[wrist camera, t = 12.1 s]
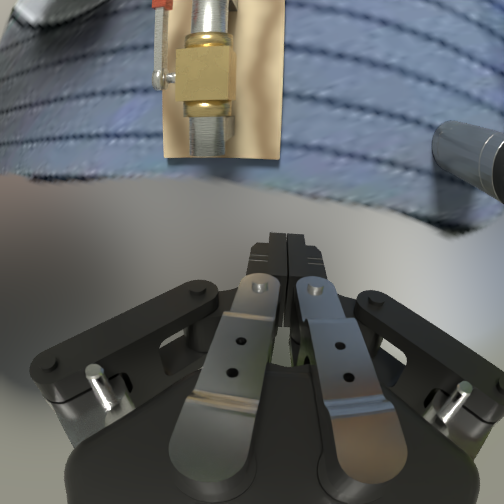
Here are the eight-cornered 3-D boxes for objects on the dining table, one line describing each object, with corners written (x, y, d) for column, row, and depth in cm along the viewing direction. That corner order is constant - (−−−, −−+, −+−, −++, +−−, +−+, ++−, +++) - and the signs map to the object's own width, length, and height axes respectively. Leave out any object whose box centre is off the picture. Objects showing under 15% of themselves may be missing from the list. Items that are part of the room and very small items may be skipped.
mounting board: (284, -19, 31) (284, -23, 30) (279, 157, 45) (279, 159, 44) (170, -13, 32) (167, -15, 31) (167, 156, 46) (164, 157, 45)
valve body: (243, -13, 31) (233, -45, 21) (239, 145, 43) (227, 158, 33) (191, -9, 31) (166, -37, 21) (187, 144, 44) (160, 158, 33)
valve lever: (171, 89, 34) (175, -21, 25) (163, 89, 31) (167, -27, 23) (158, 90, 34) (162, -18, 25) (149, 91, 31) (153, -25, 23)
